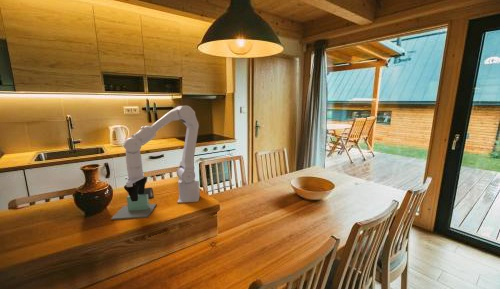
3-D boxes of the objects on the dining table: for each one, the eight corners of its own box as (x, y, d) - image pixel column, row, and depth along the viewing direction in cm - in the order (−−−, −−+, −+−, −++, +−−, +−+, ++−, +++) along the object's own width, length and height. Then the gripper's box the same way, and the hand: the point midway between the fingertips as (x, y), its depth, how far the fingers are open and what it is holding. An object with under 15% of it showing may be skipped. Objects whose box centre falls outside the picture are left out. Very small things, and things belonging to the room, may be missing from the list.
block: (149, 207, 101) (148, 194, 100) (147, 209, 99) (146, 196, 98) (130, 208, 100) (128, 195, 99) (128, 210, 98) (126, 197, 97)
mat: (156, 205, 105) (156, 203, 105) (148, 217, 93) (147, 216, 93) (124, 207, 103) (123, 205, 103) (111, 220, 91) (111, 218, 91)
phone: (151, 187, 126) (153, 196, 113) (152, 189, 126) (153, 198, 113) (135, 189, 123) (135, 199, 109) (136, 191, 123) (135, 201, 110)
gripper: (131, 162, 103) (134, 191, 105) (116, 171, 89) (120, 205, 91) (147, 161, 104) (150, 190, 106) (135, 170, 90) (139, 203, 92)
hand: (138, 197), depth 99 cm, fingers open, 7 cm apart
